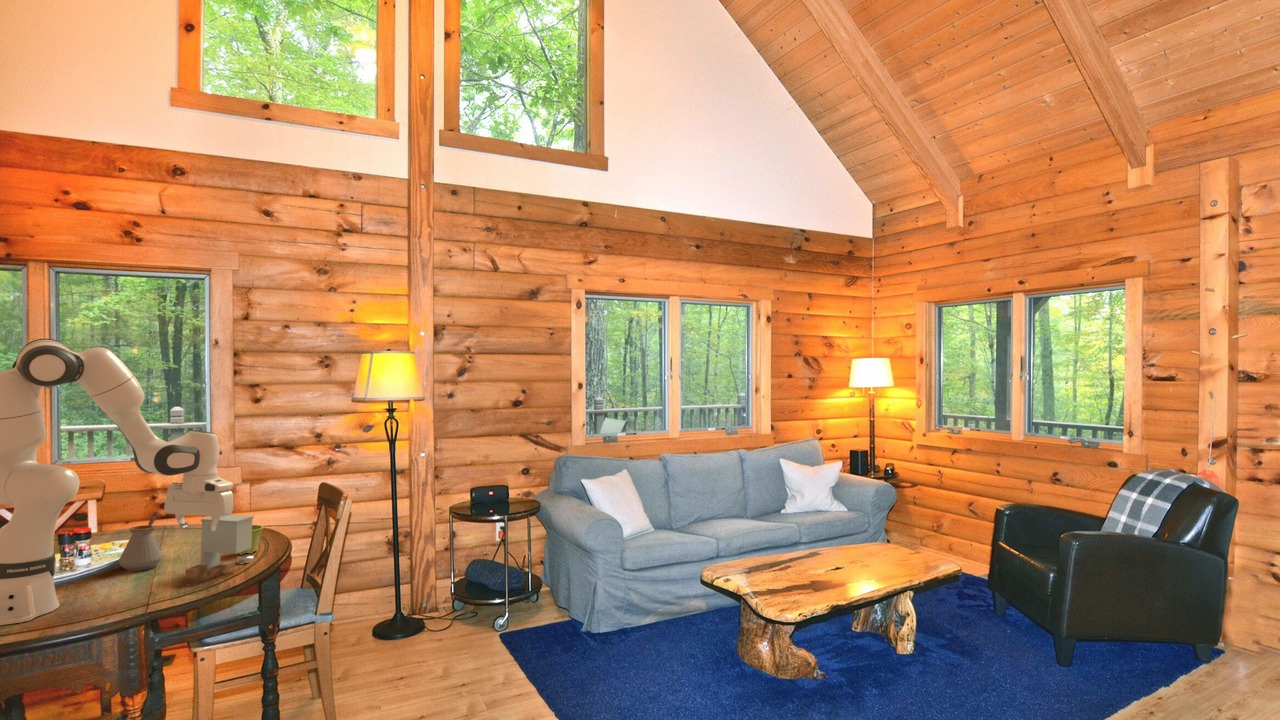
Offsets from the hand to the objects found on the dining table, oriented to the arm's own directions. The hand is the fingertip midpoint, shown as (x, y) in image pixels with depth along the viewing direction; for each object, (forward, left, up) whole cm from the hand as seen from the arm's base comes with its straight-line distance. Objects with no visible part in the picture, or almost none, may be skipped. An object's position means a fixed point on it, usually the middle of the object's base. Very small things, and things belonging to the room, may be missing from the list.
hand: (197, 529), depth 202 cm
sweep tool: (+5, +4, -16) cm, 17 cm away
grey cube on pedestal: (+10, +8, -16) cm, 20 cm away
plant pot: (+20, +26, -16) cm, 36 cm away
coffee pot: (-8, +32, -16) cm, 36 cm away
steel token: (+17, +14, -16) cm, 27 cm away
